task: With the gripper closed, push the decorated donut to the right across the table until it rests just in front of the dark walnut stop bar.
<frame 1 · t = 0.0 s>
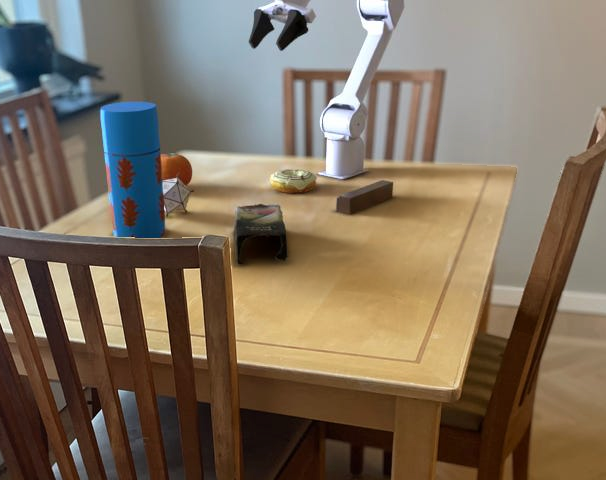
hand: (265, 46, 164), 32 cm above the table, tool tilted 50°, fingers open, 7 cm apart
fruit: (171, 189, 191), on the table
stop bar: (364, 204, 175), on the table
game die: (173, 214, 174), on the table
decorated donut: (293, 189, 187), on the table
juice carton: (259, 247, 153), on the table
thermos: (139, 235, 162), on the table
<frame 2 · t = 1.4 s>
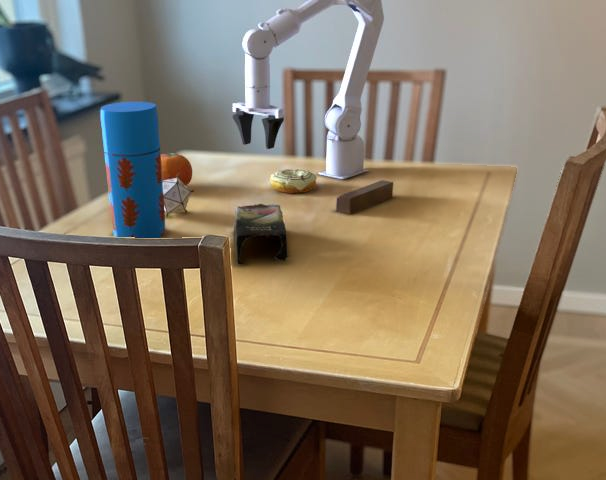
hand: (258, 146, 190), 8 cm above the table, tool pointing down, fingers open, 7 cm apart
nothing on the table moved.
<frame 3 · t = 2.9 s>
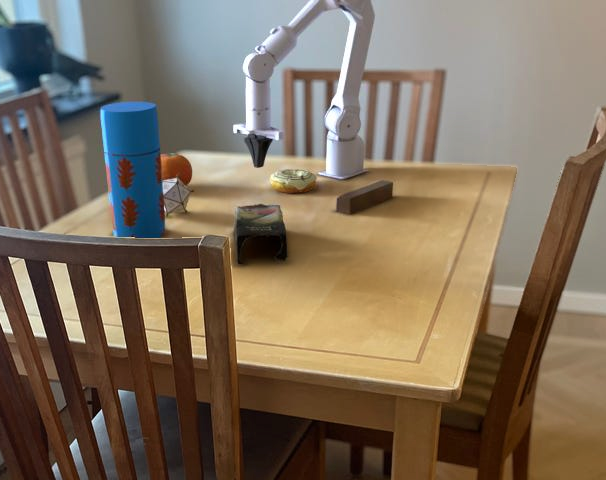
hand: (258, 166, 192), 3 cm above the table, tool pointing down, fingers closed
nothing on the table moved.
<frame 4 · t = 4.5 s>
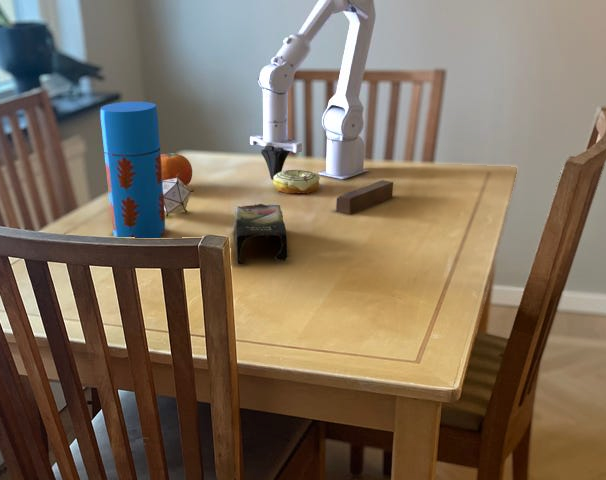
hand: (275, 178, 190), 1 cm above the table, tool pointing down, fingers closed
decorated donut: (296, 190, 187), on the table, touching gripper
everything else where it was.
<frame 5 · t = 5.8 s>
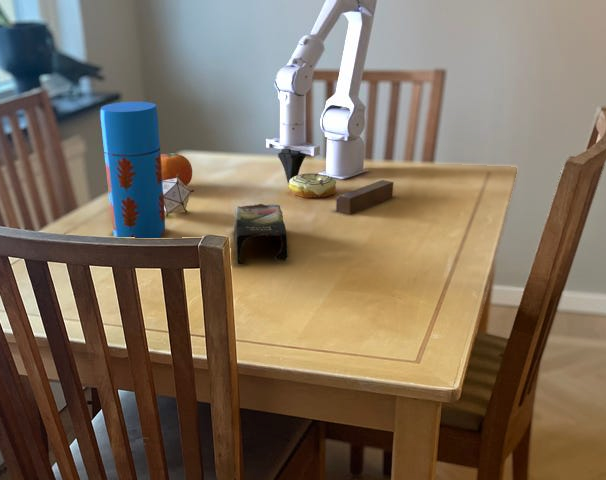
hand: (292, 182, 187), 1 cm above the table, tool pointing down, fingers closed
decorated donut: (312, 194, 184), on the table, touching gripper
everything else where it was.
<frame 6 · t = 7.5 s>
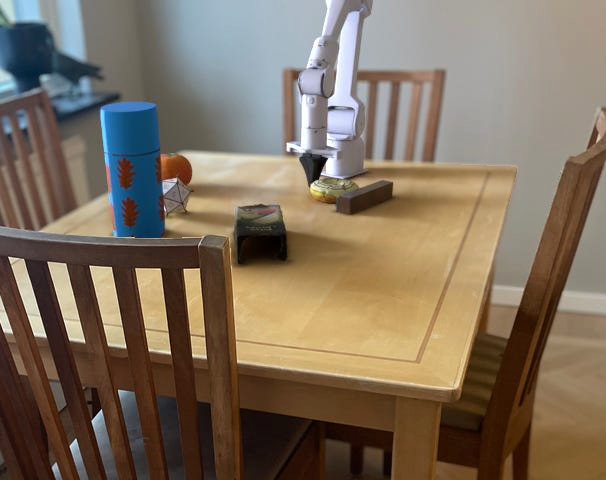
hand: (313, 186, 183), 1 cm above the table, tool pointing down, fingers closed
decorated donut: (334, 199, 180), on the table, touching gripper
everything else where it was.
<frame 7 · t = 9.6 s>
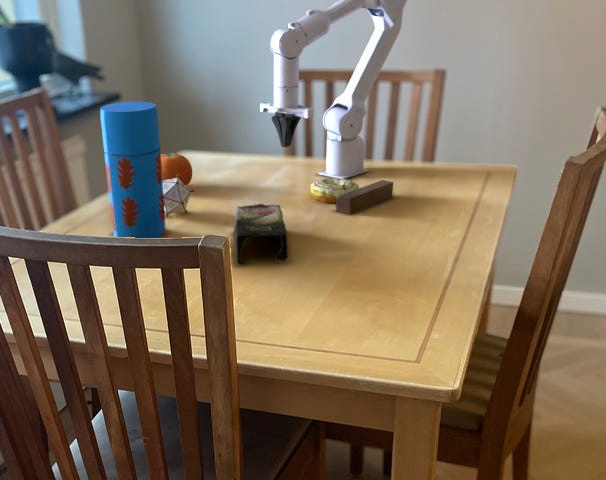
hand: (286, 146, 189), 8 cm above the table, tool pointing down, fingers closed
decorated donut: (334, 199, 180), on the table
everything else where it was.
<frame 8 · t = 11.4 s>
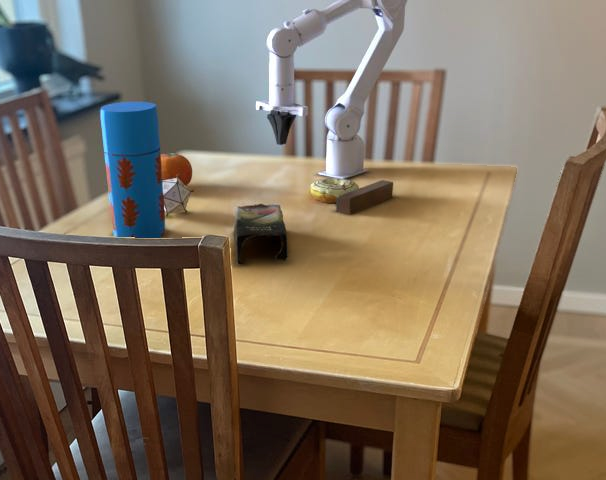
hand: (281, 143, 191), 8 cm above the table, tool pointing down, fingers closed
nothing on the table moved.
at the end: decorated donut inside the target area (0.5 cm from its centre), on the table; decorated donut moved 12.4 cm from its start; decorated donut tilted 0° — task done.
